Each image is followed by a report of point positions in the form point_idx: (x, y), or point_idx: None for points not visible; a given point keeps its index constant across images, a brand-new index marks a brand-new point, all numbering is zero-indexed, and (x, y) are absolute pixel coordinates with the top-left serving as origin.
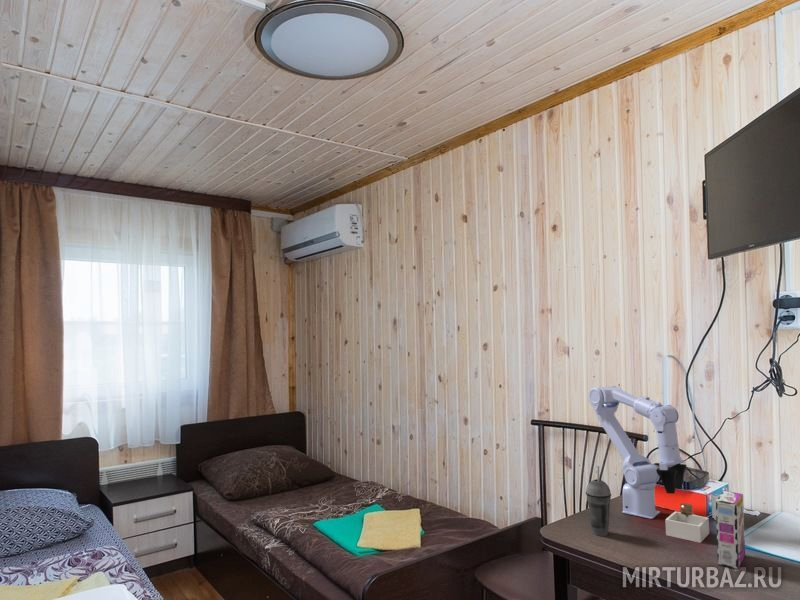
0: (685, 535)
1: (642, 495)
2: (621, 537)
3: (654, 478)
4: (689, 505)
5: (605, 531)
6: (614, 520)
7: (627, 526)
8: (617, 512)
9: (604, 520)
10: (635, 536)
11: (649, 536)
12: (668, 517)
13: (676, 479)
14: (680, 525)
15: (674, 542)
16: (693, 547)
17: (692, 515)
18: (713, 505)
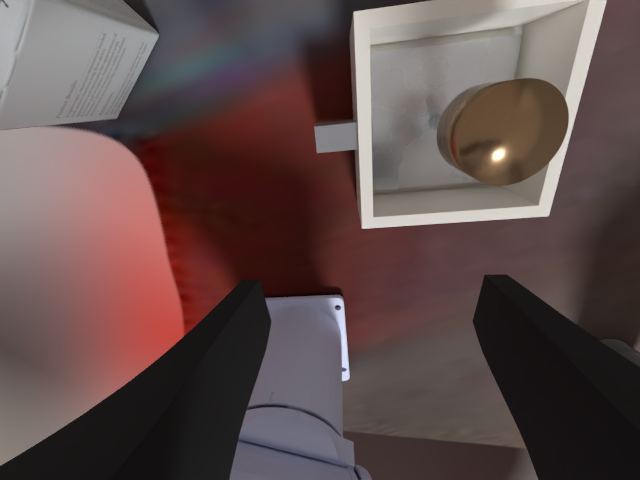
0: None
1: (338, 398)
2: (615, 299)
3: (234, 466)
4: (515, 107)
5: (635, 351)
6: (436, 368)
7: None
8: (349, 385)
9: None
10: (579, 270)
11: (553, 233)
12: (500, 216)
13: (235, 379)
14: None
15: (587, 124)
16: (629, 14)
17: (370, 125)
18: (64, 104)
